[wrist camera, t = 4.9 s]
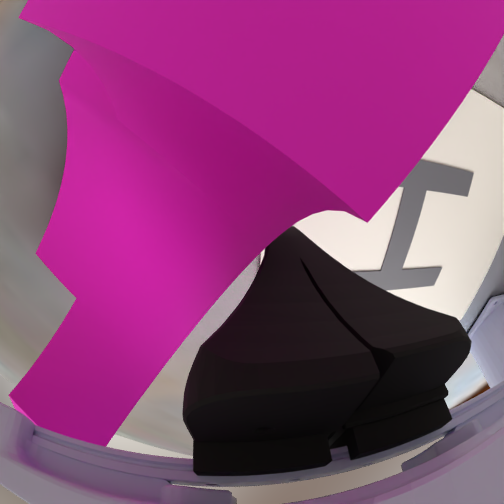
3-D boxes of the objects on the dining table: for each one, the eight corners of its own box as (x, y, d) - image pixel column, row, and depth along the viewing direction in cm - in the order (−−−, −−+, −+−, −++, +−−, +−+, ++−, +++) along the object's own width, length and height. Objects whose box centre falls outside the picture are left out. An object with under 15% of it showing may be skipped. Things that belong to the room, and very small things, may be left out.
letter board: (528, 127, 9) (531, 128, 8) (459, 318, 17) (461, 320, 17) (270, 32, 7) (271, 31, 7) (255, 346, 16) (255, 349, 16)
